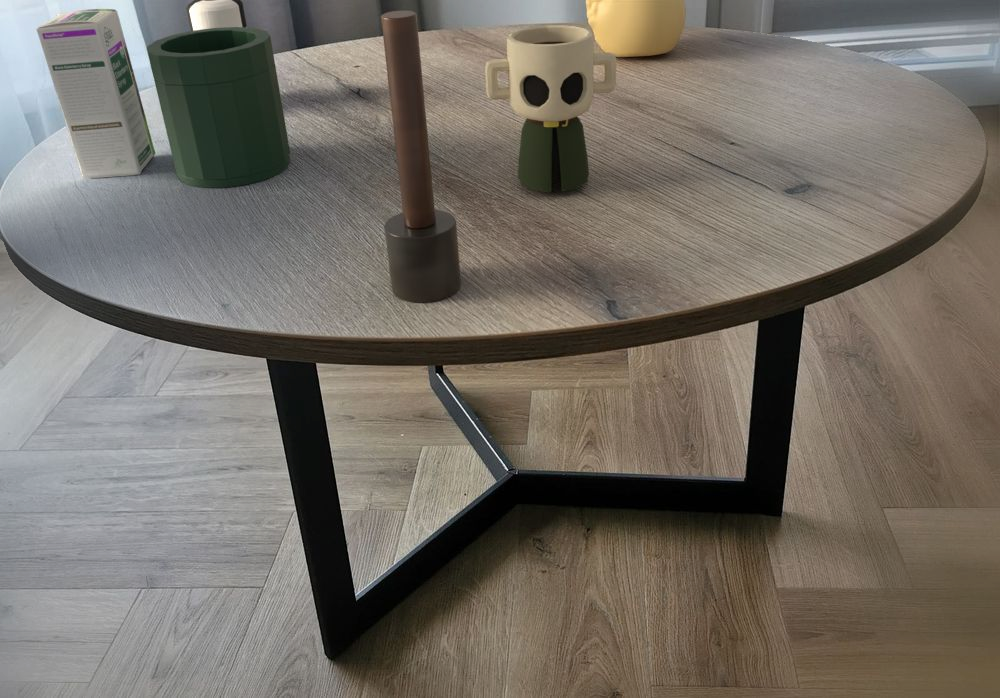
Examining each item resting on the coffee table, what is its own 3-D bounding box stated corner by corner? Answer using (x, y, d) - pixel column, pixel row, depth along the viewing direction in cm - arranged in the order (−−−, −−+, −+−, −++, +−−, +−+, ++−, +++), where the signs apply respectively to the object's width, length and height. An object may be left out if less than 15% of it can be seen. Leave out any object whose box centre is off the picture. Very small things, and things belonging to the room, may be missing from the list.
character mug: (493, 204, 82) (484, 49, 75) (490, 174, 88) (482, 28, 81) (620, 196, 82) (623, 40, 75) (609, 166, 88) (610, 20, 81)
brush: (387, 303, 67) (351, 25, 57) (397, 271, 72) (365, 7, 62) (457, 302, 67) (433, 21, 57) (464, 270, 71) (442, 4, 61)
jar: (160, 189, 89) (128, 58, 83) (198, 149, 98) (171, 29, 92) (274, 186, 88) (250, 54, 82) (302, 146, 97) (282, 24, 91)
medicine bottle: (203, 102, 113) (180, -5, 107) (264, 94, 114) (245, -11, 108) (202, 119, 107) (178, 8, 101) (267, 111, 108) (247, 0, 102)
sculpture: (610, 39, 128) (611, -47, 123) (696, 46, 123) (701, -44, 117) (573, 60, 120) (571, -31, 114) (663, 69, 115) (666, -27, 109)
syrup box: (141, 175, 92) (101, 20, 85) (79, 179, 92) (34, 24, 85) (156, 155, 97) (119, 6, 90) (98, 159, 97) (56, 10, 90)
